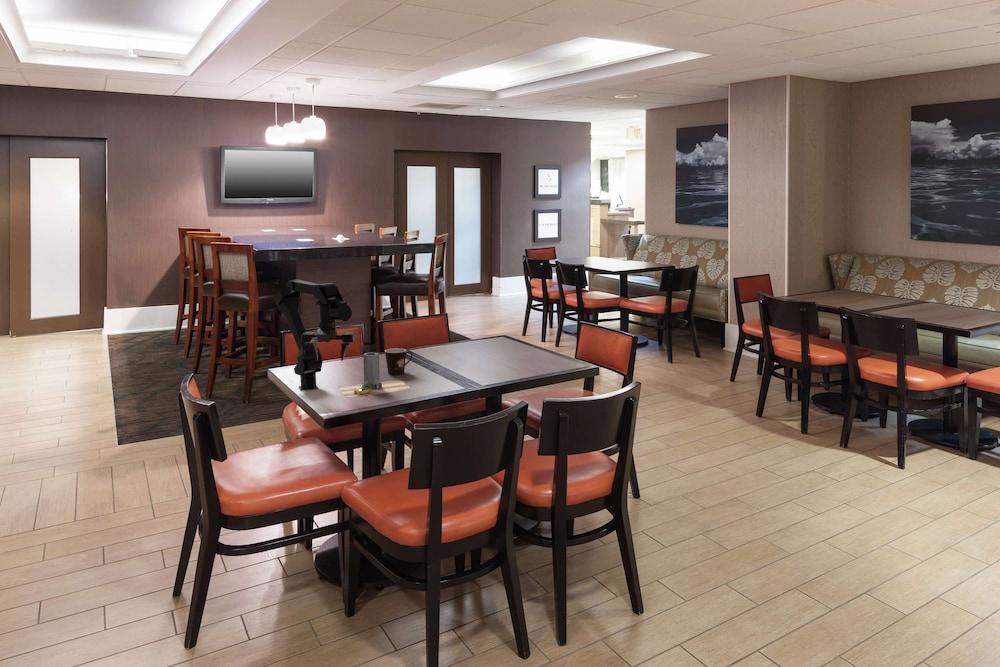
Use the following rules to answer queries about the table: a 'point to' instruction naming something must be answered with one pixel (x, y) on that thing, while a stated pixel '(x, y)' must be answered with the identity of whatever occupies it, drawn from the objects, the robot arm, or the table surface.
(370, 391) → the brass gear
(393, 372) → the coffee mug
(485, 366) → the table surface
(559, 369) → the table surface
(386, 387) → the gear board
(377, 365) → the grey octagonal tube
